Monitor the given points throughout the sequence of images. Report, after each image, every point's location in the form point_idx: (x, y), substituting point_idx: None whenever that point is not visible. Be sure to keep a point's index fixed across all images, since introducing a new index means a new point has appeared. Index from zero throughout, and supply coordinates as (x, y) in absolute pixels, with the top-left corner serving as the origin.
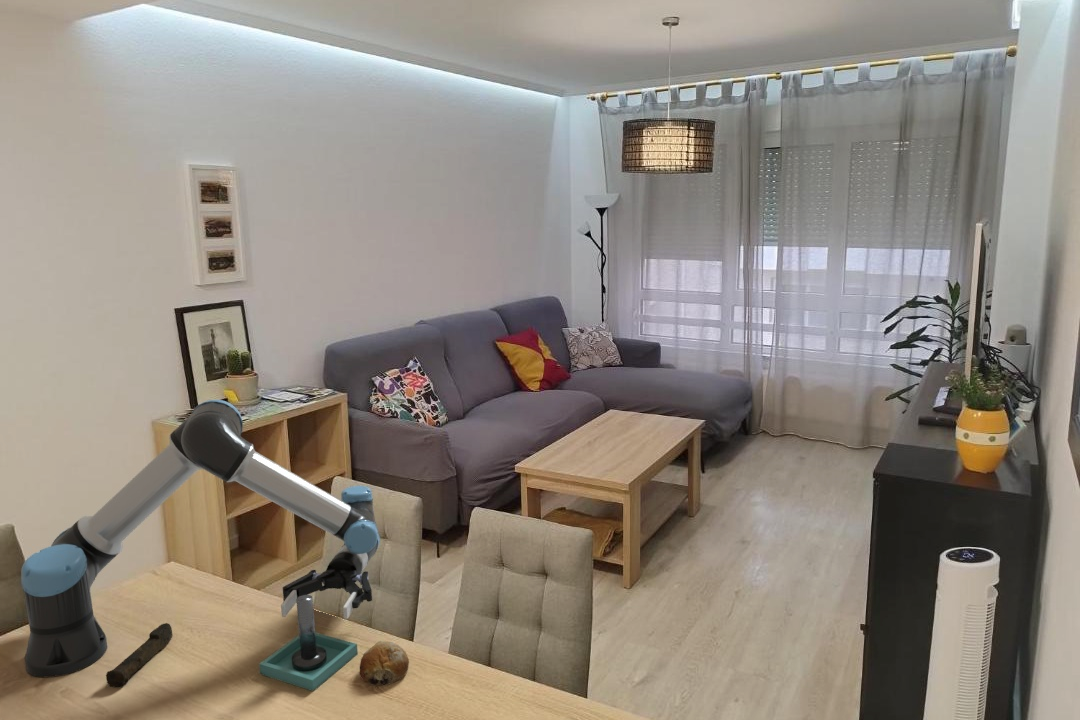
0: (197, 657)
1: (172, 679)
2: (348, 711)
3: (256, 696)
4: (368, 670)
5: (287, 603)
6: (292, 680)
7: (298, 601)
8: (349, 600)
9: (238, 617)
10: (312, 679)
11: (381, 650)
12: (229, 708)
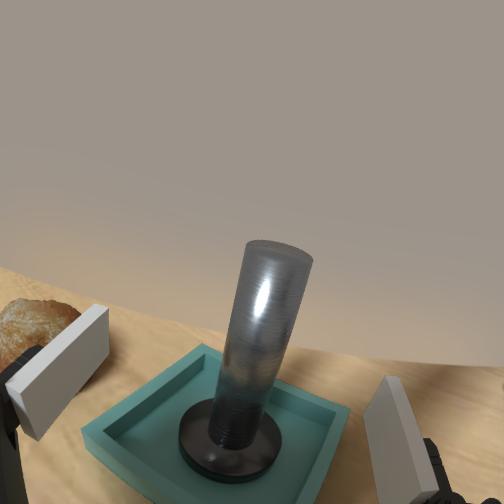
0: (492, 464)
1: (473, 414)
2: (135, 311)
3: (309, 373)
4: None
5: (388, 404)
6: None
7: (295, 248)
8: (66, 336)
9: None
10: (202, 345)
11: (45, 301)
12: (338, 357)
